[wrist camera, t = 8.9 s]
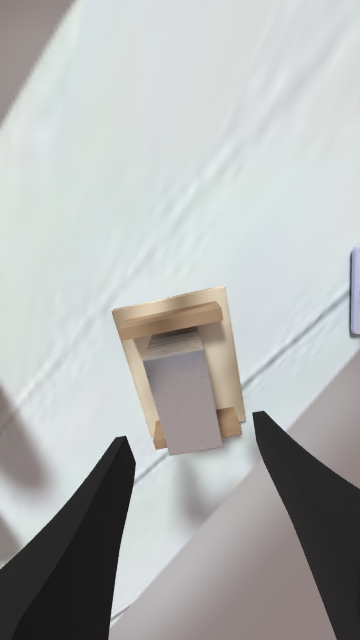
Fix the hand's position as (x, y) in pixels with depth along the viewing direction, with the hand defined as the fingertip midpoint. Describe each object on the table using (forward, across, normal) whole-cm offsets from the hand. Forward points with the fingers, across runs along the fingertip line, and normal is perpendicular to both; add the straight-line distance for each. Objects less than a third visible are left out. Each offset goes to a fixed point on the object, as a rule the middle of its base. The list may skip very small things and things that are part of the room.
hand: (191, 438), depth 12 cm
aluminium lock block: (+8, 0, 0) cm, 8 cm away
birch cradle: (+9, 0, 0) cm, 9 cm away
